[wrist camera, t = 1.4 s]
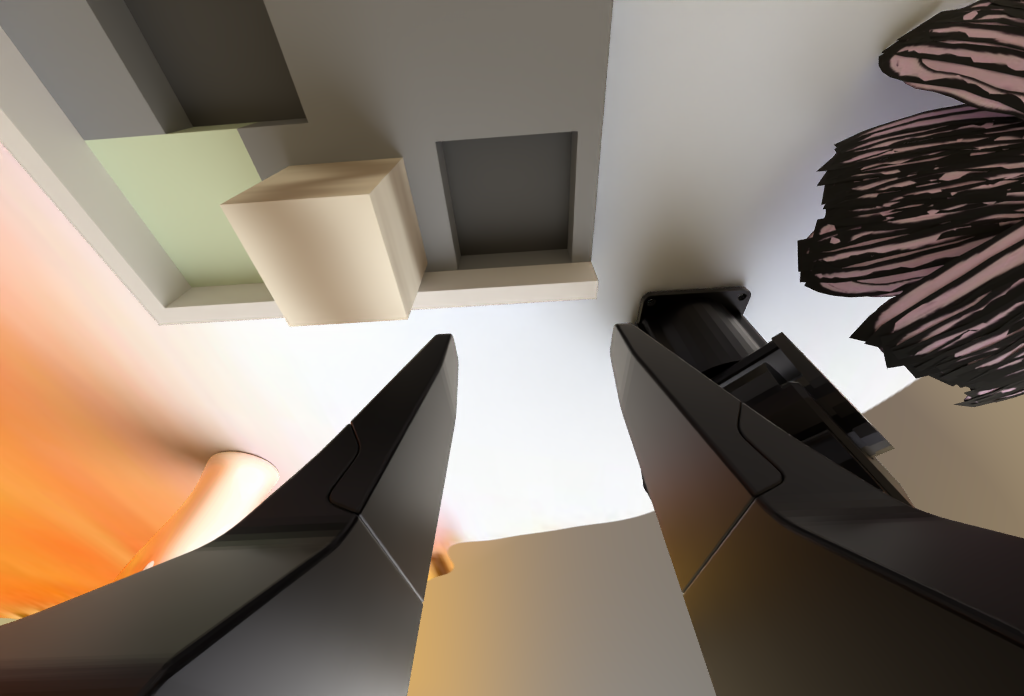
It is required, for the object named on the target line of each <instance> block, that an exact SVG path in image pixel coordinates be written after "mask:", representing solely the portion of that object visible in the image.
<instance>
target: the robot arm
mask: <svg viewBox="0 0 1024 696" xmlns="http://www.w3.org/2000/svg"><path fill="white" fill-rule="evenodd" d="M741 294H743V295H742V296H740V297H739V295H741ZM750 297H751V293H750V291H749V290H748V289H747V288H745V287H728V288H712V289H696V290H679V291H663V292H650V293H647V294H645V295H644V296H643V297H642V299H641V304H640V309H639V314H638V319H637V323H635V324H634V325H633V324H632V323H622V324H616V325H615V326H614V328H613V334H612V341H611V347H610V356H611V362H612V367H613V372H614V377H615V382H616V387H617V392H618V397H619V402H620V407H621V410H622V414H623V417H624V420H625V423H626V426H627V429H628V432H629V435H630V438H631V441H632V444H633V447H634V450H635V453H636V456H637V459H638V462H639V465H640V468H641V473H642V479H643V486H644V489H645V491H646V492H647V493H648V495H649V497H650V499H651V501H652V504H653V507H654V510H655V512H656V515H657V518H658V521H659V525H660V528H661V530H662V534H663V537H664V540H665V543H666V545H667V548H668V551H669V554H670V557H671V560H672V563H673V566H674V569H675V572H676V575H677V578H678V581H679V584H680V587H681V590H682V592H683V593H684V594H683V597H684V600H685V603H686V606H687V609H688V612H689V615H690V618H691V621H692V624H693V627H694V630H695V633H696V636H697V639H698V642H699V645H700V648H701V651H702V653H703V657H704V660H705V663H706V666H707V669H708V672H709V675H710V678H711V681H712V683H713V687H714V690H715V693H716V696H1024V538H1020V537H1016V536H1012V535H1008V534H1004V533H1000V532H996V531H992V530H988V529H984V528H980V527H976V526H972V525H968V524H964V523H961V522H957V521H952V520H949V519H945V518H941V517H938V516H935V515H932V514H930V513H926V512H924V511H921V510H919V509H916V508H915V507H914V506H913V503H912V502H911V500H910V499H909V497H908V495H907V494H906V492H905V490H904V489H903V488H902V486H901V485H900V483H899V482H898V481H897V480H896V479H895V478H894V477H893V476H892V475H891V474H890V473H889V471H888V470H887V469H886V468H885V467H884V466H883V465H882V464H881V463H880V462H879V461H878V460H877V459H876V457H875V456H878V455H880V454H883V453H885V452H887V451H890V450H892V449H894V447H893V446H892V445H891V444H890V443H889V442H888V441H887V440H886V439H885V438H884V437H883V436H882V435H881V434H880V433H879V432H878V431H877V429H876V428H875V427H874V426H873V425H872V424H871V423H870V422H869V421H868V420H867V419H866V418H865V417H864V416H863V415H862V414H861V413H860V412H859V410H858V409H857V408H856V407H855V406H854V405H853V404H852V403H851V402H850V401H849V400H848V399H847V398H846V397H845V396H844V395H843V394H842V393H841V392H840V391H839V390H838V389H837V388H836V387H835V386H834V385H833V384H832V383H831V382H830V381H829V379H828V378H827V377H826V376H825V375H824V374H823V373H822V372H821V371H820V370H819V369H818V368H817V367H816V366H815V365H814V364H813V363H812V362H811V361H810V360H809V359H808V358H807V357H806V356H805V355H804V354H803V353H802V352H801V351H800V350H799V349H798V348H797V347H796V346H795V345H794V344H793V343H792V342H791V341H790V340H789V339H788V338H787V337H786V336H785V335H784V333H783V332H781V333H779V334H778V335H776V336H775V337H773V338H771V339H772V341H770V342H769V343H767V342H766V341H765V340H764V339H763V338H762V336H761V335H760V334H759V333H758V332H757V331H756V330H755V328H754V327H753V326H752V325H751V324H750V323H749V322H748V320H747V319H746V318H745V317H744V316H743V313H744V311H745V309H746V306H747V304H748V302H749V299H750ZM651 299H653V301H652V302H649V303H648V301H649V300H651ZM457 386H458V356H457V352H456V347H455V342H454V338H453V336H452V335H451V334H438V335H435V336H434V337H433V338H432V339H431V340H430V341H429V342H428V343H427V344H426V345H425V346H424V347H423V348H422V349H421V350H420V351H419V352H418V353H417V354H416V355H415V356H414V358H413V359H412V360H411V361H410V362H409V363H408V364H407V365H406V366H405V367H404V368H403V369H402V370H401V371H400V372H399V373H398V374H397V375H396V376H395V377H394V378H393V379H392V380H391V381H390V382H389V383H388V384H387V385H386V386H385V387H384V388H383V389H382V390H381V391H380V392H379V393H378V394H377V395H376V396H375V397H374V398H373V399H372V400H371V401H370V402H369V403H368V404H367V405H366V406H365V407H364V408H363V409H362V410H361V411H360V412H359V414H358V415H357V416H356V417H355V418H354V419H353V420H352V421H351V424H348V425H347V426H346V427H345V428H344V429H343V430H342V431H341V432H340V433H339V434H338V435H337V436H336V437H335V438H334V439H333V440H332V441H331V442H330V443H329V444H327V445H326V446H325V447H324V448H323V449H322V450H321V451H320V452H319V453H318V454H317V455H316V456H315V457H314V458H313V459H311V460H310V461H309V462H308V463H307V464H306V465H305V466H304V467H303V468H301V469H300V470H299V471H298V472H297V473H296V474H295V475H293V476H292V477H291V478H290V479H289V480H288V481H287V482H285V483H284V484H283V485H282V486H281V487H280V488H278V489H277V490H276V491H275V492H274V493H273V494H271V495H270V496H269V497H268V498H267V499H266V500H264V501H263V502H262V503H261V504H260V505H259V506H257V507H256V508H255V509H254V510H253V511H252V512H251V513H249V514H248V515H247V516H246V517H245V518H244V519H242V520H241V521H240V522H239V523H237V524H236V525H235V526H234V527H232V528H231V529H230V530H228V531H227V532H225V533H224V534H222V535H221V536H219V537H218V538H216V539H214V540H213V541H211V542H209V543H207V544H205V545H203V546H201V547H199V548H197V549H195V550H193V551H190V552H188V553H185V554H183V555H180V556H178V557H175V558H173V559H170V560H168V561H165V562H163V563H160V564H158V565H155V566H153V567H150V568H148V569H145V570H143V571H140V572H138V573H135V574H133V575H130V576H128V577H125V578H123V579H120V580H118V581H115V582H113V583H110V584H108V585H105V586H103V587H100V588H98V589H95V590H93V591H90V592H88V593H85V594H83V595H80V596H78V597H75V598H73V599H70V600H68V601H65V602H63V603H60V604H58V605H55V606H53V607H50V608H48V609H45V610H43V611H40V612H38V613H35V614H32V615H30V616H27V617H24V618H22V619H19V620H16V621H13V622H10V623H7V624H4V625H1V626H0V696H407V693H408V686H409V681H410V675H411V670H412V664H413V659H414V653H415V647H416V641H417V636H418V630H419V624H420V619H421V613H422V608H423V604H422V602H423V601H424V595H425V589H426V583H427V579H428V573H429V567H430V562H431V556H432V550H433V545H434V539H435V533H436V528H437V522H438V516H439V511H440V505H441V499H442V494H443V488H444V482H445V477H446V471H447V465H448V460H449V454H450V448H451V443H452V437H453V431H454V426H455V419H456V408H457Z"/></svg>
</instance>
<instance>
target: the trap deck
mask: <svg viewBox="0 0 1024 696" xmlns="http://www.w3.org/2000/svg"><path fill="white" fill-rule="evenodd" d="M612 8H613V0H0V142H1V143H2V144H3V145H4V147H5V148H6V149H7V150H8V151H9V152H10V154H11V155H12V156H13V157H14V158H15V159H16V160H17V162H18V163H19V164H20V165H21V166H22V167H23V169H24V170H25V171H26V172H27V173H28V174H29V175H30V177H31V178H32V179H33V180H34V181H35V182H36V184H37V185H38V186H39V187H40V188H41V189H42V190H43V192H44V193H45V194H46V195H47V196H48V197H49V199H50V200H51V201H52V202H53V203H54V204H55V206H56V207H57V208H58V209H59V210H60V211H61V212H62V214H63V215H64V216H65V217H66V218H67V219H68V221H69V222H70V223H71V224H72V225H73V226H74V227H75V229H76V230H77V231H78V232H79V233H80V234H81V236H82V237H83V238H84V239H85V240H86V241H87V243H88V244H89V245H90V246H91V247H92V248H93V249H94V251H95V252H96V253H97V254H98V255H99V256H100V258H101V259H102V260H103V261H104V262H105V263H106V264H107V266H108V267H109V268H110V269H111V270H112V271H113V273H114V274H115V275H116V276H117V277H118V278H119V280H120V281H121V282H122V283H123V284H124V285H125V286H126V288H127V289H128V290H129V291H130V292H131V293H132V295H133V296H134V297H135V298H136V299H137V300H138V301H139V303H140V304H141V305H142V306H143V307H144V308H145V310H146V311H147V312H148V313H149V314H150V315H151V316H152V318H153V319H154V320H155V321H156V322H157V323H158V325H173V324H190V323H206V322H223V321H239V320H255V319H272V318H284V316H283V314H282V313H281V311H280V309H279V307H278V306H277V304H276V302H275V300H274V299H273V297H272V295H271V293H270V292H269V290H268V288H267V287H266V285H265V283H264V281H263V280H262V278H261V276H260V274H259V273H258V271H257V269H256V267H255V266H254V264H253V262H252V261H251V259H250V257H249V255H248V254H247V252H246V250H245V248H244V247H243V245H242V243H241V241H240V240H239V238H238V236H237V234H236V233H235V231H234V229H233V228H232V226H231V224H230V222H229V221H228V219H227V217H226V215H225V214H224V212H223V210H222V208H221V207H220V204H222V203H224V202H225V201H227V200H229V199H231V198H233V197H234V196H236V195H238V194H240V193H242V192H243V191H245V190H247V189H249V188H251V187H252V186H254V185H256V184H258V183H260V182H261V181H263V180H265V179H267V178H269V177H270V176H272V175H274V174H276V173H277V172H279V171H281V170H283V169H285V168H286V167H288V166H295V165H308V164H321V163H335V162H348V161H362V160H375V159H389V158H402V157H403V160H404V164H405V169H406V173H407V177H408V182H409V186H410V190H411V194H412V199H413V203H414V207H415V211H416V216H417V220H418V224H419V228H420V233H421V237H422V241H423V246H424V250H425V254H426V258H427V263H428V264H427V267H426V270H425V272H424V275H423V278H422V281H421V284H420V286H419V289H418V292H417V295H416V298H415V300H414V303H413V306H412V309H411V310H419V309H435V308H452V307H468V306H484V305H501V304H517V303H534V302H550V301H566V300H583V299H597V290H598V278H597V276H596V273H595V271H594V268H593V266H592V263H591V255H592V243H593V231H594V219H595V208H596V196H597V184H598V172H599V161H600V149H601V137H602V125H603V114H604V102H605V90H606V78H607V66H608V55H609V43H610V31H611V19H612Z"/></svg>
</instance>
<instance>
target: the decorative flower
mask: <svg viewBox="0 0 1024 696" xmlns="http://www.w3.org/2000/svg"><path fill="white" fill-rule="evenodd" d="M897 40H899V41H897V42H896V43H894V44H893V45H891V46H890V47H888V48H887V49H885V50H884V51H883V52H882V53H884V54H882V55H881V56H879V67H880V69H881V70H882V72H883V73H885V74H886V75H888V76H889V77H892V78H895V79H898V80H902V81H904V82H905V84H907V85H910V86H912V87H914V88H916V89H921V90H927V91H933V92H937V93H940V94H943V95H946V96H949V97H952V98H954V99H956V100H958V101H960V102H963V103H965V104H964V105H958V106H952V107H946V108H940V109H935V110H931V111H926V112H922V113H919V114H916V115H912V116H909V117H906V118H903V119H899V120H896V121H892V122H889V123H886V124H883V125H880V126H877V127H874V128H871V129H868V130H865V131H863V132H861V133H858V134H856V135H854V136H852V137H850V138H848V139H845V140H843V141H841V142H839V143H837V144H835V146H836V147H837V148H835V149H834V150H835V151H836V154H835V155H834V157H833V158H831V159H830V160H829V161H828V162H827V163H826V164H825V165H823V166H822V167H821V168H820V169H819V170H818V171H827V172H826V173H825V175H824V176H823V178H822V179H821V180H820V182H819V183H818V185H817V186H821V185H825V188H824V193H823V199H822V204H821V205H823V204H825V206H824V208H823V209H826V215H825V217H824V218H823V219H818V220H817V223H816V226H815V230H814V231H813V232H812V233H811V234H810V236H809V237H808V238H807V239H804V240H799V241H798V272H801V273H800V282H806V283H805V285H804V286H806V287H808V288H811V289H813V290H815V291H817V292H820V293H824V294H828V295H833V296H843V297H864V296H869V297H892V296H895V297H893V298H891V299H889V300H888V301H887V302H885V303H884V304H883V305H881V306H880V307H879V308H878V309H877V310H876V311H875V312H874V313H873V314H871V315H870V316H869V317H868V318H867V319H866V320H865V321H864V322H863V323H862V324H861V325H860V327H859V328H858V329H857V330H856V331H855V332H854V333H853V334H852V335H851V336H850V337H849V338H853V339H857V340H861V341H866V342H865V343H864V344H868V345H872V346H876V347H878V348H879V349H880V350H881V351H882V352H883V353H884V357H885V361H886V366H887V368H891V367H897V366H903V365H904V366H905V367H906V368H907V369H908V370H909V371H910V372H911V373H912V374H913V376H914V377H915V378H920V377H924V376H928V375H929V376H931V377H933V378H935V379H938V380H940V381H942V382H944V383H947V384H948V385H951V386H954V385H956V384H957V385H958V386H959V387H965V386H966V387H969V388H970V390H971V391H969V392H965V394H966V395H967V397H966V398H965V399H964V402H962V403H958V404H955V405H961V406H969V407H976V406H980V405H984V404H989V403H992V402H999V401H1003V400H1007V399H1010V398H1014V397H1017V396H1020V395H1023V394H1024V0H980V1H978V2H976V3H973V4H971V5H969V6H967V7H965V8H962V9H957V10H950V11H942V12H940V13H939V14H937V15H935V16H934V17H932V18H931V19H929V20H927V21H926V22H924V23H923V24H921V25H920V26H918V27H916V28H915V29H913V30H912V31H910V32H909V33H907V34H905V35H904V36H902V37H901V38H899V39H897ZM816 172H817V171H816Z"/></svg>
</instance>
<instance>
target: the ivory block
mask: <svg viewBox="0 0 1024 696" xmlns="http://www.w3.org/2000/svg"><path fill="white" fill-rule="evenodd" d="M220 207H221V208H222V210H223V212H224V214H225V215H226V217H227V219H228V221H229V222H230V224H231V226H232V228H233V229H234V231H235V233H236V234H237V236H238V238H239V240H240V241H241V243H242V245H243V247H244V248H245V250H246V252H247V254H248V255H249V257H250V259H251V261H252V262H253V264H254V266H255V267H256V269H257V271H258V273H259V274H260V276H261V278H262V280H263V281H264V283H265V285H266V287H267V288H268V290H269V292H270V293H271V295H272V297H273V299H274V300H275V302H276V304H277V306H278V307H279V309H280V311H281V313H282V314H283V316H284V318H285V320H286V321H287V323H288V325H289V326H290V327H291V326H307V325H324V324H341V323H357V322H374V321H390V320H407V319H408V317H409V314H410V312H411V309H412V306H413V303H414V300H415V298H416V295H417V292H418V289H419V286H420V284H421V281H422V278H423V275H424V272H425V270H426V267H427V264H428V263H427V258H426V254H425V250H424V246H423V241H422V237H421V233H420V228H419V224H418V220H417V216H416V211H415V207H414V203H413V199H412V194H411V190H410V186H409V182H408V177H407V173H406V169H405V164H404V160H403V157H402V158H389V159H375V160H362V161H348V162H335V163H321V164H308V165H295V166H288V167H286V168H285V169H283V170H281V171H279V172H277V173H276V174H274V175H272V176H270V177H269V178H267V179H265V180H263V181H261V182H260V183H258V184H256V185H254V186H252V187H251V188H249V189H247V190H245V191H243V192H242V193H240V194H238V195H236V196H234V197H233V198H231V199H229V200H227V201H225V202H224V203H222V204H220Z"/></svg>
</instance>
